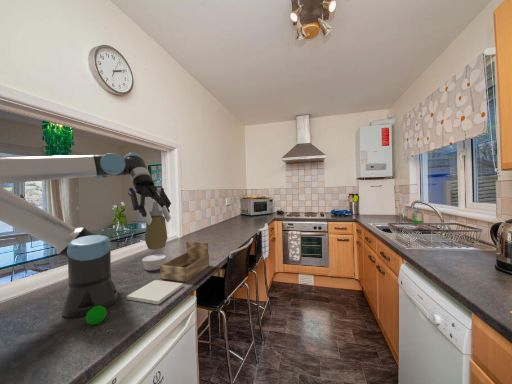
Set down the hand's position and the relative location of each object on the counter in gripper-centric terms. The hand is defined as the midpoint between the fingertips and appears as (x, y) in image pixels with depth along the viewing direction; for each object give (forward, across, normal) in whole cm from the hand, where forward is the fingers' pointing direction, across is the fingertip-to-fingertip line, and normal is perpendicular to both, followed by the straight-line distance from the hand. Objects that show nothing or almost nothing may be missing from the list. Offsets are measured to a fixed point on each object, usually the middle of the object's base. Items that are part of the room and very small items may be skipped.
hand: (159, 220), depth 78 cm
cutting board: (+17, 0, -22) cm, 28 cm away
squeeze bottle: (+5, 0, -10) cm, 12 cm away
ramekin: (-2, -11, -43) cm, 44 cm away
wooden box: (+11, -18, -30) cm, 36 cm away
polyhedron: (+21, +20, -19) cm, 35 cm away
